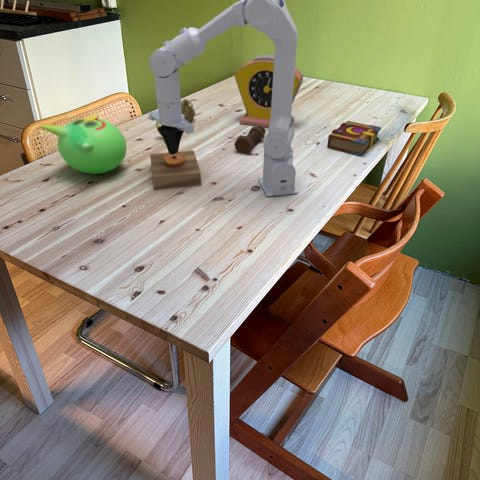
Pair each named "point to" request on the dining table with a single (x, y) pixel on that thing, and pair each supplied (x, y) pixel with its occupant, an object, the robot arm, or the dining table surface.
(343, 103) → the dining table surface
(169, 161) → the orange short cylinder
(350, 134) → the decorative book
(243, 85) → the yellow mantel clock
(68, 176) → the dining table surface
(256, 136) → the bolt
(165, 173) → the block
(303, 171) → the dining table surface
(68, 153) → the toy bird
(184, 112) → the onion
